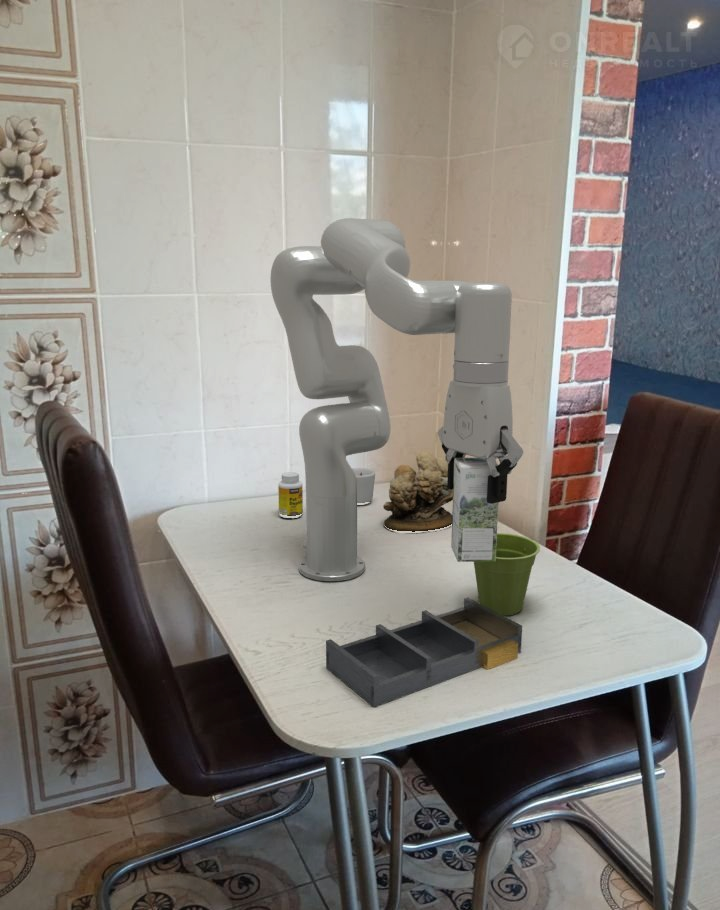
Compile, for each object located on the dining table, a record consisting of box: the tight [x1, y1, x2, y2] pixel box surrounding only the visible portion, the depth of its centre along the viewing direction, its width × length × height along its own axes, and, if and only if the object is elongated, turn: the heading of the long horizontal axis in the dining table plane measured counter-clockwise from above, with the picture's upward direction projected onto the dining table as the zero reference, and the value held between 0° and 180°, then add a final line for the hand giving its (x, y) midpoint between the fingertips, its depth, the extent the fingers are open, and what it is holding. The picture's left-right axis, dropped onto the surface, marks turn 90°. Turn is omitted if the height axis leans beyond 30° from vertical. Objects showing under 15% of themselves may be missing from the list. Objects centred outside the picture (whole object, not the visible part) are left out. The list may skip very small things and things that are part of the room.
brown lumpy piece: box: [383, 451, 453, 532], centre depth 167 cm, size 18×12×17 cm, turn 117°
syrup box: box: [450, 457, 500, 563], centre depth 109 cm, size 6×6×14 cm
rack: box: [325, 597, 523, 708], centre depth 108 cm, size 13×27×4 cm, turn 124°
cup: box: [351, 467, 376, 503], centre depth 184 cm, size 11×8×8 cm
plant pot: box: [473, 532, 541, 617], centre depth 125 cm, size 12×12×11 cm
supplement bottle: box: [277, 471, 304, 516], centre depth 173 cm, size 6×6×10 cm
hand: (476, 494), depth 108 cm, fingers closed on syrup box, 7 cm apart
